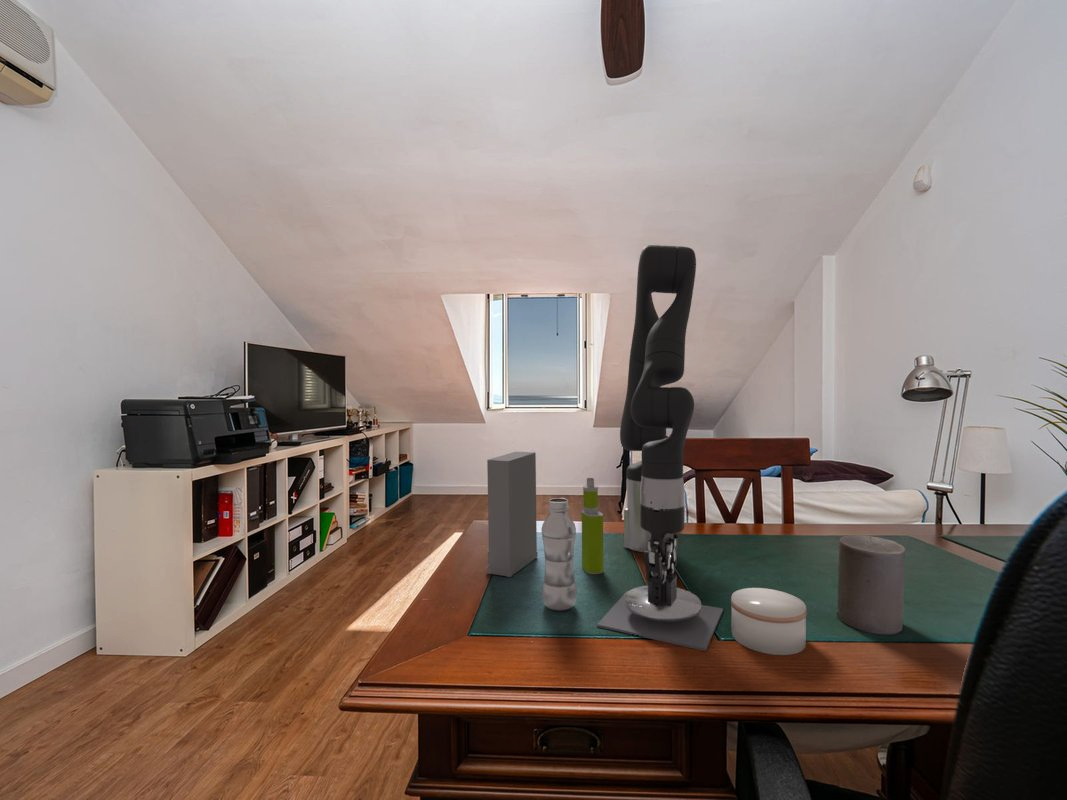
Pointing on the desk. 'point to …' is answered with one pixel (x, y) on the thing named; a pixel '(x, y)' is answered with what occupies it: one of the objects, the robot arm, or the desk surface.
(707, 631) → the mat
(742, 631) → the dish
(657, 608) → the lid
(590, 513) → the vape
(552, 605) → the plastic bottle
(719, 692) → the desk surface
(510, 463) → the upright grey slab box
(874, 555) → the pillar candle
